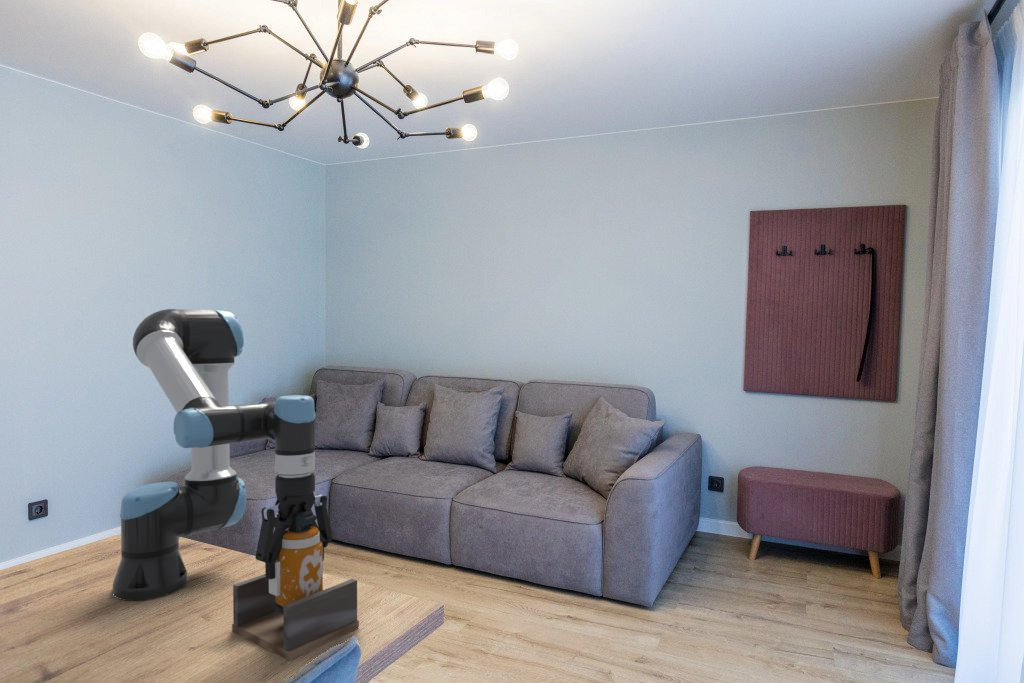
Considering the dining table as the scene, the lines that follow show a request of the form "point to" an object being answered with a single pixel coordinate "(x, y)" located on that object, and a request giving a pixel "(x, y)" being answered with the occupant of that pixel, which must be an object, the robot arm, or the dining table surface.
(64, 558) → the dining table surface
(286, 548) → the canister
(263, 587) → the holder
